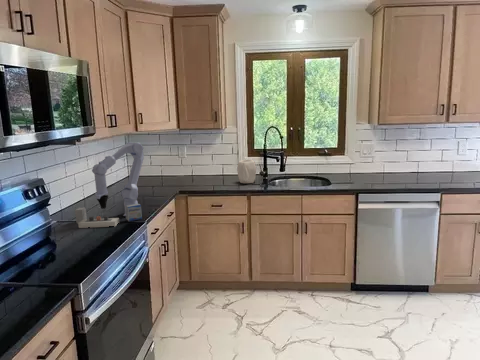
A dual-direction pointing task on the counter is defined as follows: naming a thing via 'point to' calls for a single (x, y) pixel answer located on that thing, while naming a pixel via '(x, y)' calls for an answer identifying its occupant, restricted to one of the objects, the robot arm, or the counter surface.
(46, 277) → the counter surface
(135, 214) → the medicine box
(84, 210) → the grey cord holder
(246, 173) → the white faceted vase
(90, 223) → the power strip
